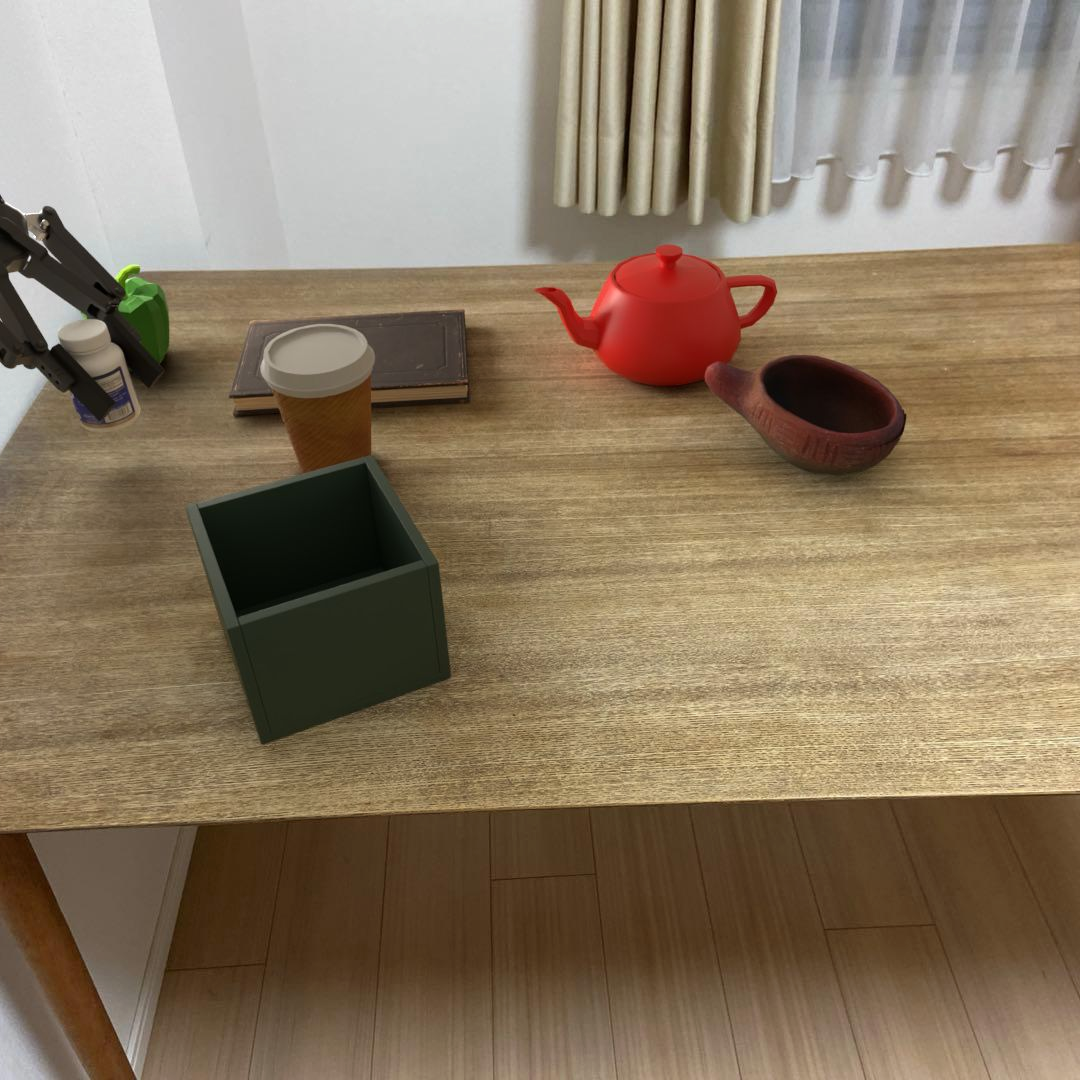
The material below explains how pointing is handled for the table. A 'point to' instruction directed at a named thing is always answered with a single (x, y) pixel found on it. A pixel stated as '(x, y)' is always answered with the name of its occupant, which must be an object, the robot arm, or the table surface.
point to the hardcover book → (400, 358)
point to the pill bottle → (101, 373)
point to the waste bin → (322, 594)
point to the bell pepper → (145, 311)
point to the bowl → (814, 411)
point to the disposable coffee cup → (322, 392)
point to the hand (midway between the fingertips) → (132, 394)
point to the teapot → (663, 317)
